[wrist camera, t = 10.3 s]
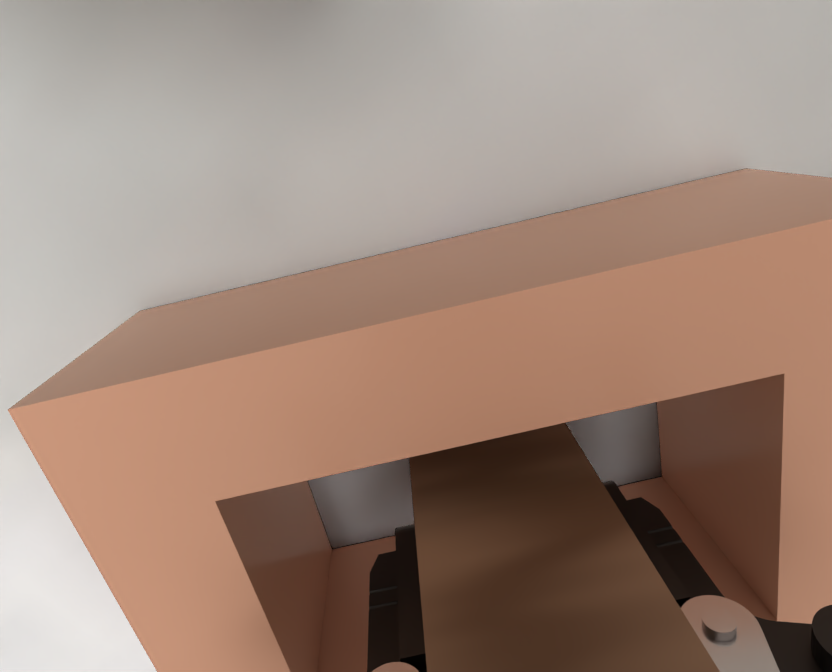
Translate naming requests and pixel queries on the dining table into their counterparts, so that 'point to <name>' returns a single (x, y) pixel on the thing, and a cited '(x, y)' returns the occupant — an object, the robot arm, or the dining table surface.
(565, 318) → the orange rectangular frame
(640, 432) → the dining table surface
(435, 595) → the walnut post
